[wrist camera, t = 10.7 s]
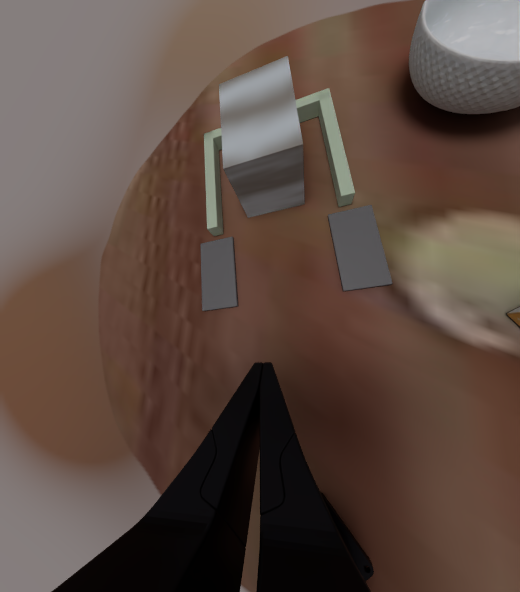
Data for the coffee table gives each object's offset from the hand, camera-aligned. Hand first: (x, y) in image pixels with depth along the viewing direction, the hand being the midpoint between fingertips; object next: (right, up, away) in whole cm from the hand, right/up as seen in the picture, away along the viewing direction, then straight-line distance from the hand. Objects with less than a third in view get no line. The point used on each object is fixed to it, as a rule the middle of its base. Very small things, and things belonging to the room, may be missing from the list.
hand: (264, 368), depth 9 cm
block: (+1, +21, +18) cm, 28 cm away
